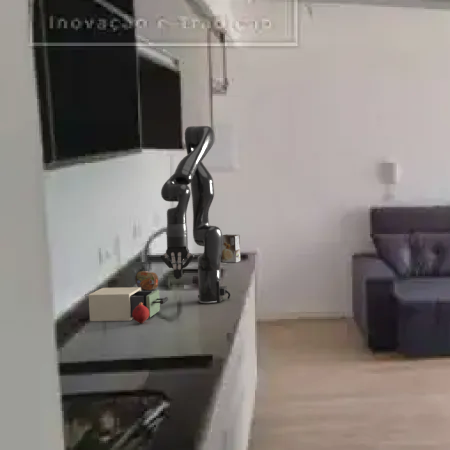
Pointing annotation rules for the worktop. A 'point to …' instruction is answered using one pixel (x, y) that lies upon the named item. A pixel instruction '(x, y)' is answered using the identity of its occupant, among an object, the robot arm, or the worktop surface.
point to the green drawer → (147, 301)
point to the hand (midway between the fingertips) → (178, 278)
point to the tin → (147, 280)
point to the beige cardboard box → (111, 304)
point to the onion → (140, 313)
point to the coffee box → (231, 248)
